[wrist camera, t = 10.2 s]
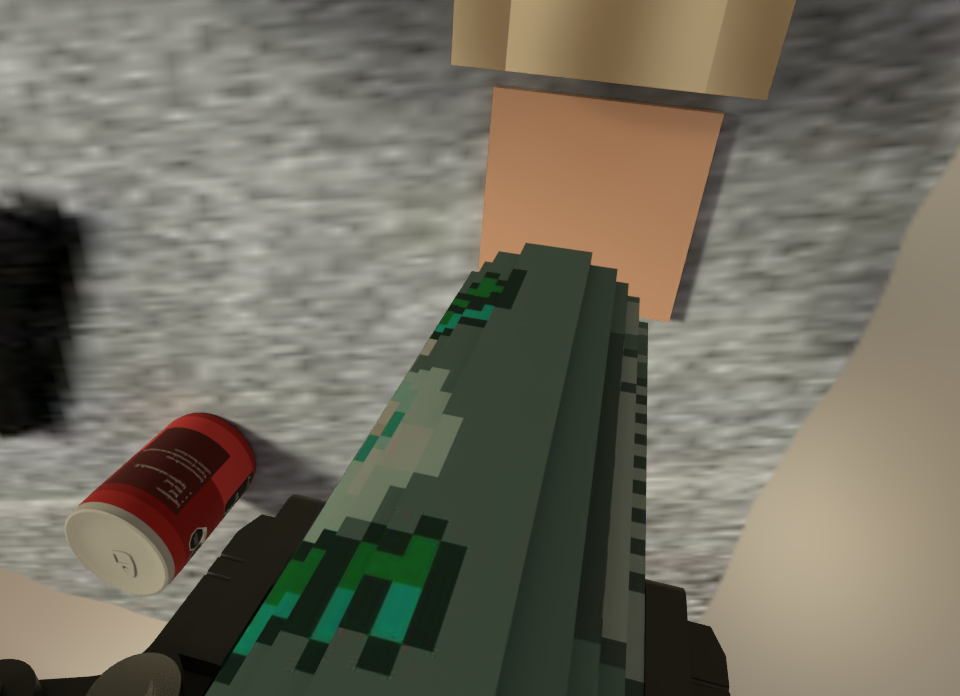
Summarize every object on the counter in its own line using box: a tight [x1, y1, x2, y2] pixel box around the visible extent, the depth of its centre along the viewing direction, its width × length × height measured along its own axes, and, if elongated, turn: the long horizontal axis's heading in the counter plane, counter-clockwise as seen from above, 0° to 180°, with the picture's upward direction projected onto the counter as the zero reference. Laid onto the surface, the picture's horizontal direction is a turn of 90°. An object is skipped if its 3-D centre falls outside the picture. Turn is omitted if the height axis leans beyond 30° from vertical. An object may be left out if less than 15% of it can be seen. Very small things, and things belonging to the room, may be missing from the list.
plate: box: [479, 85, 724, 322], centre depth 33 cm, size 11×11×1 cm
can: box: [205, 243, 648, 696], centre depth 14 cm, size 6×6×15 cm
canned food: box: [65, 413, 256, 596], centre depth 45 cm, size 8×8×11 cm
